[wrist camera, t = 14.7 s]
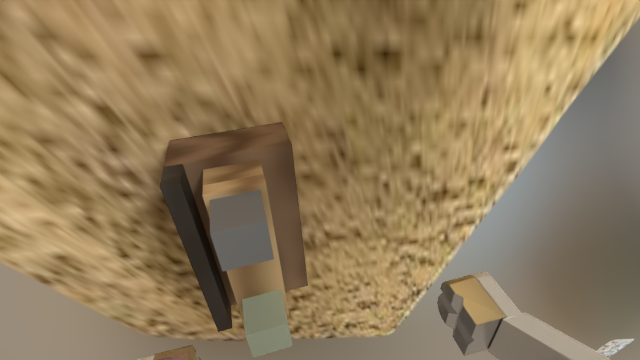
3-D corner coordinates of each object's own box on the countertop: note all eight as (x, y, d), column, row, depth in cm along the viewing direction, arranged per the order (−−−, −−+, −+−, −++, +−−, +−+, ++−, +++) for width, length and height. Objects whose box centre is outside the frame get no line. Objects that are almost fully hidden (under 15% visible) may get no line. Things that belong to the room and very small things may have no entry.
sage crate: (280, 289, 34) (288, 323, 31) (285, 312, 37) (292, 345, 34) (242, 299, 34) (245, 335, 31) (249, 322, 36) (253, 357, 33)
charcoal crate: (260, 189, 27) (267, 221, 24) (267, 226, 29) (274, 259, 26) (209, 199, 26) (209, 233, 23) (221, 236, 29) (222, 271, 25)
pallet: (259, 159, 30) (266, 183, 27) (283, 286, 40) (289, 314, 37) (203, 169, 29) (202, 196, 26) (241, 296, 39) (244, 327, 36)
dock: (282, 122, 34) (298, 160, 28) (299, 256, 46) (313, 305, 39) (169, 140, 32) (159, 186, 26) (217, 276, 44) (218, 331, 37)
